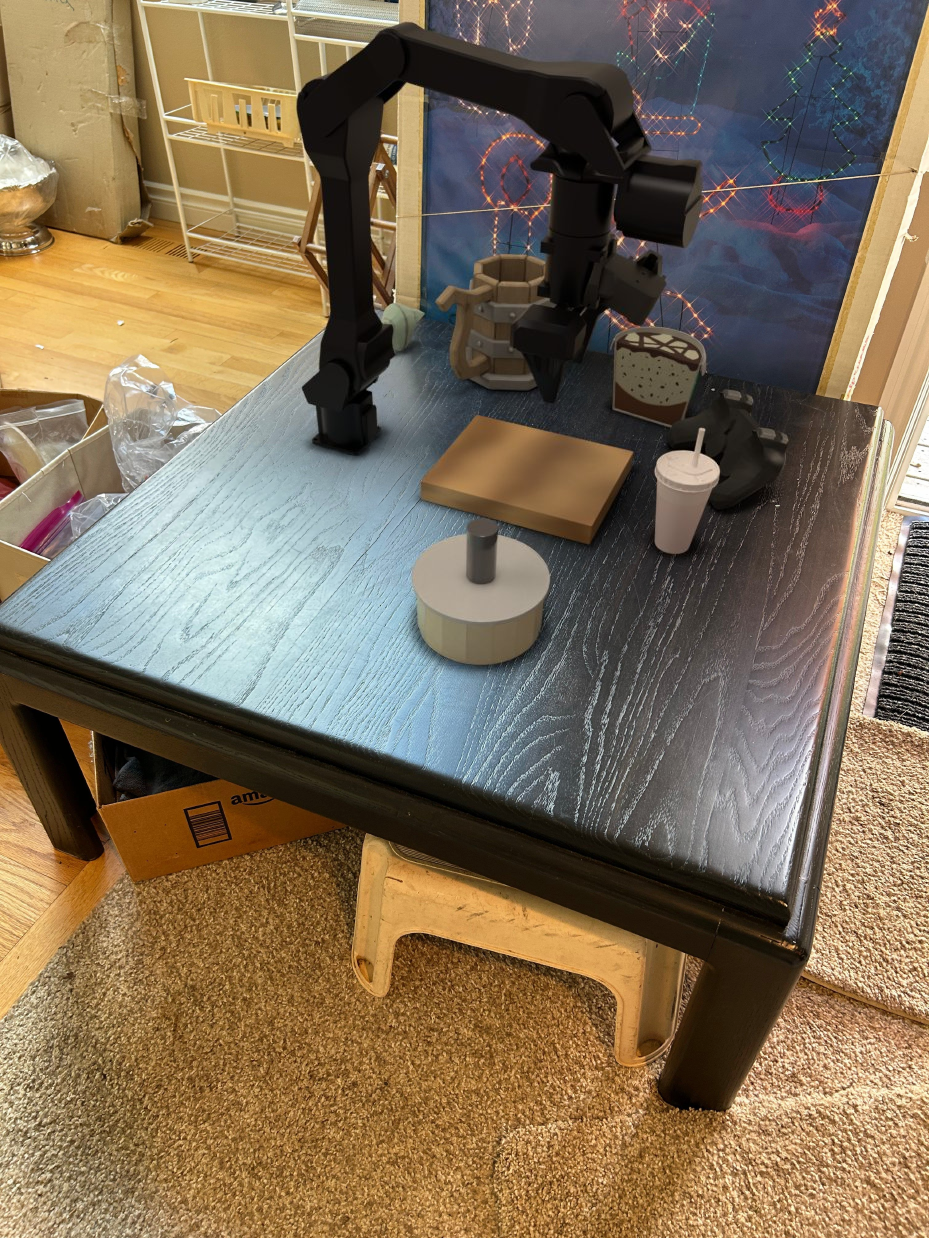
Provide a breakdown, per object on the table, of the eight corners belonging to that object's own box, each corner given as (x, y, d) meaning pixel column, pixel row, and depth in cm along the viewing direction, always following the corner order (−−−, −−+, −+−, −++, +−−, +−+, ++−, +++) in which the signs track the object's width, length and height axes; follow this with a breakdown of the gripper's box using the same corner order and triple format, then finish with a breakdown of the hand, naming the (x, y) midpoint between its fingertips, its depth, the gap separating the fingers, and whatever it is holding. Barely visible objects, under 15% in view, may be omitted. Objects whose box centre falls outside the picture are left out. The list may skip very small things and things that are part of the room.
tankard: (508, 340, 132) (513, 235, 122) (572, 370, 125) (583, 262, 115) (404, 384, 122) (400, 274, 112) (468, 420, 115) (470, 306, 105)
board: (420, 499, 102) (420, 481, 100) (476, 432, 113) (476, 414, 111) (589, 544, 96) (591, 526, 95) (630, 469, 107) (633, 451, 106)
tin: (397, 642, 85) (395, 599, 81) (449, 570, 93) (449, 528, 89) (513, 680, 82) (516, 637, 78) (557, 601, 90) (561, 559, 86)
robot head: (386, 363, 126) (384, 317, 122) (367, 353, 128) (364, 307, 124) (428, 346, 130) (428, 300, 126) (410, 336, 132) (408, 291, 128)
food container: (708, 413, 117) (724, 340, 110) (690, 434, 113) (706, 360, 107) (622, 387, 122) (632, 316, 115) (602, 406, 118) (611, 334, 111)
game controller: (756, 529, 103) (815, 458, 98) (713, 512, 100) (771, 439, 95) (700, 453, 115) (749, 387, 110) (659, 436, 112) (708, 367, 106)
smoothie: (701, 565, 94) (730, 450, 85) (640, 557, 95) (661, 442, 85) (702, 529, 99) (729, 416, 89) (643, 521, 100) (664, 408, 90)
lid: (388, 606, 82) (384, 549, 77) (446, 529, 90) (446, 473, 86) (519, 647, 78) (524, 589, 73) (567, 562, 87) (574, 506, 82)
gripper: (639, 279, 74) (614, 443, 85) (688, 208, 87) (661, 359, 97) (512, 256, 77) (503, 417, 88) (578, 191, 90) (563, 339, 100)
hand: (563, 381), depth 93 cm, fingers open, 9 cm apart
